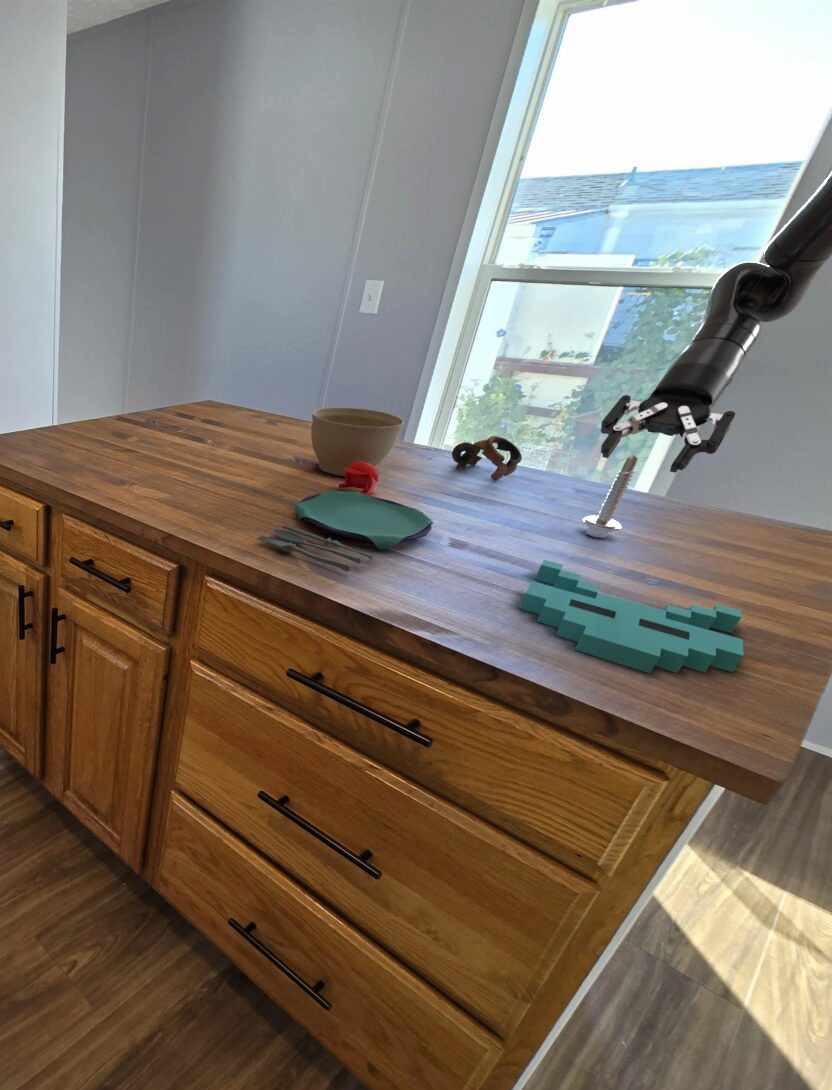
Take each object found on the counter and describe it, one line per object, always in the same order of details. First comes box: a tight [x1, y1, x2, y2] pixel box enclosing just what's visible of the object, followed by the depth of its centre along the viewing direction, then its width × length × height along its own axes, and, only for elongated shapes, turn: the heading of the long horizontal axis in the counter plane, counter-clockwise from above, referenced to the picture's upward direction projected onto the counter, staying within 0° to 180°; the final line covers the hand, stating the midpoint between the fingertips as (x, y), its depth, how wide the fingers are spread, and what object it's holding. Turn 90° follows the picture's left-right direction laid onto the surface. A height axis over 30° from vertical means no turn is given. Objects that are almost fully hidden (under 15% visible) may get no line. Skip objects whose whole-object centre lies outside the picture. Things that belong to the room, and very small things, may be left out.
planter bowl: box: [310, 406, 405, 477], centre depth 128 cm, size 16×16×11 cm
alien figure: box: [518, 559, 745, 674], centre depth 79 cm, size 20×2×20 cm
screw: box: [581, 454, 639, 539], centre depth 101 cm, size 13×5×5 cm
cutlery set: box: [256, 490, 434, 573], centre depth 103 cm, size 20×30×2 cm, turn 130°
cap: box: [338, 461, 380, 496], centre depth 118 cm, size 8×6×6 cm
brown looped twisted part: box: [451, 435, 523, 481], centre depth 129 cm, size 12×10×8 cm
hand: (638, 462), depth 101 cm, fingers open, 8 cm apart
